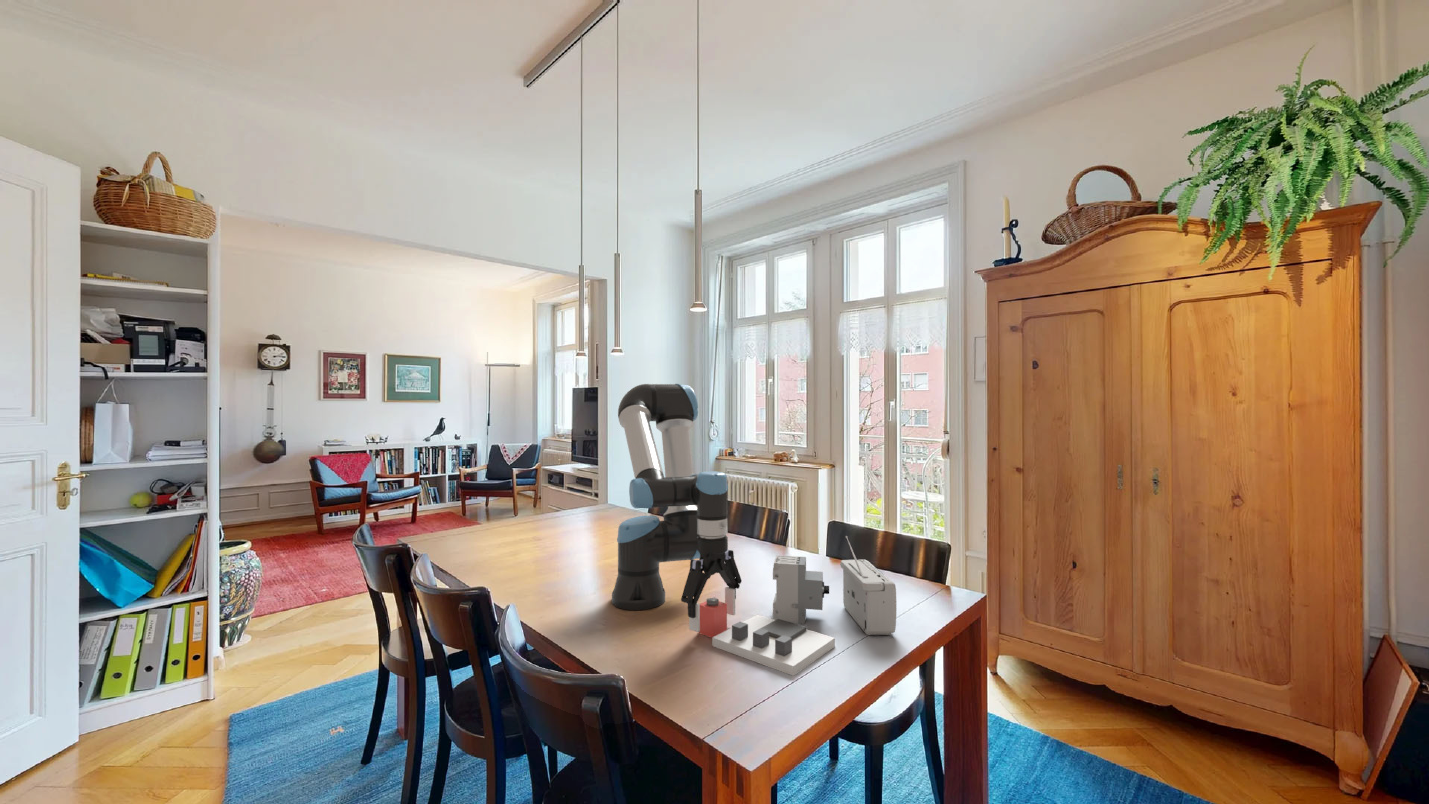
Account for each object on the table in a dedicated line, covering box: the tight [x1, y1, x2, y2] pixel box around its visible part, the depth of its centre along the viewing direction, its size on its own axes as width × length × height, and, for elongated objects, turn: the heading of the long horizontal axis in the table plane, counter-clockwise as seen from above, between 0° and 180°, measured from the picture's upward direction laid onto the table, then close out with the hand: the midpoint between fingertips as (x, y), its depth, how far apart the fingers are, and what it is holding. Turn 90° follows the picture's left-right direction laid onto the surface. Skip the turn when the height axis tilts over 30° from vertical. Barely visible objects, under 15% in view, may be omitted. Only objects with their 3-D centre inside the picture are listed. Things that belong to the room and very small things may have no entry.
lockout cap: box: [698, 597, 728, 638], centre depth 139 cm, size 5×5×8 cm
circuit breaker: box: [772, 554, 830, 624], centre depth 148 cm, size 8×14×15 cm, turn 78°
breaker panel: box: [711, 614, 836, 676], centre depth 131 cm, size 22×18×5 cm
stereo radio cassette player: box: [840, 535, 897, 636], centre depth 146 cm, size 21×8×20 cm, turn 4°
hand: (713, 622), depth 139 cm, fingers open, 13 cm apart
